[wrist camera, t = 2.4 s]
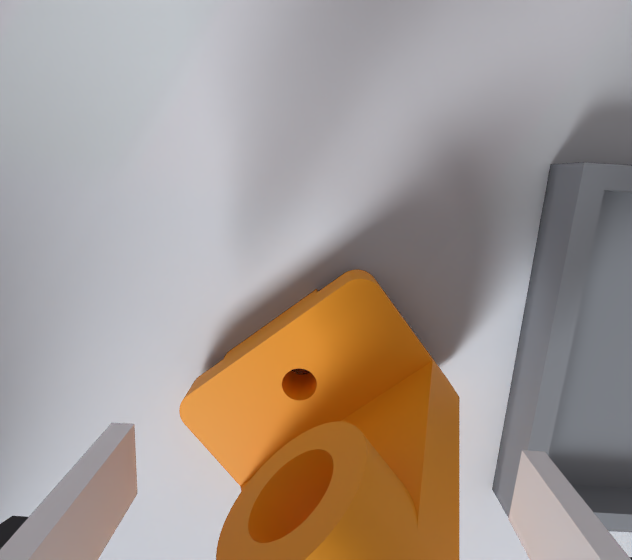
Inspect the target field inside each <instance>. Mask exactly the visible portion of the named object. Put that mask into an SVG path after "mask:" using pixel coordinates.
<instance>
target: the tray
mask: <svg viewBox="0 0 632 560" xmlns="http://www.w3.org/2000/svg"><path fill="white" fill-rule="evenodd" d="M522 450H527V451H542V452H545V453H546V454H547V455H548V456H549V458H550V459H551V460H552V461H553V463H554V464H555V465H556V466H557V468H558V469H559V470H560V471H561V473H562V474H563V475H564V476H565V478H566V479H567V480H568V481H569V483H570V484H571V485H572V486H573V488H574V489H575V490H576V491H577V493H578V494H579V495H580V496H581V498H582V499H583V500H584V501H585V503H586V504H587V505H588V506H589V508H590V509H591V510H592V511H593V513H594V514H595V515H596V516H597V518H598V519H599V520H600V521H601V523H602V524H603V525H604V526H605V528H606V529H607V530H608V531H618V532H632V165H619V164H603V163H587V162H582V163H567V164H552V165H551V166H550V171H549V177H548V182H547V188H546V193H545V199H544V204H543V210H542V216H541V221H540V227H539V232H538V238H537V243H536V249H535V255H534V260H533V266H532V271H531V277H530V282H529V288H528V293H527V299H526V305H525V310H524V316H523V321H522V327H521V332H520V338H519V343H518V349H517V355H516V360H515V366H514V371H513V377H512V382H511V388H510V393H509V399H508V405H507V410H506V416H505V421H504V427H503V432H502V438H501V444H500V449H499V455H498V460H497V466H496V471H495V477H494V482H493V488H492V490H493V491H494V493H495V495H496V497H497V498H498V500H499V502H500V504H501V506H502V507H503V509H504V511H505V513H506V514H507V516H508V518H509V514H510V509H511V504H512V499H513V493H514V488H515V483H516V478H517V473H518V468H519V463H520V458H521V453H522Z"/></svg>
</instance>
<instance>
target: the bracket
mask: <svg viewBox="0 0 632 560" xmlns="http://www.w3.org/2000/svg"><path fill="white" fill-rule="evenodd" d="M298 368H300V369H305V370H308V371H309V372H310V373H307V374H296V373H294V372H292V371H291V370H293V369H298ZM180 417H181V419H182V421H183V423H184V424H185V425H186V426H187V427H188V428H189V429H190V430H191V432H192V433H193V434H194V435H195V436H196V437H197V438H198V439H199V441H200V442H201V443H202V444H203V445H204V446H205V447H206V448H207V449H208V451H209V452H210V453H211V454H212V455H213V456H214V457H215V458H216V459H217V461H218V462H219V463H220V464H221V465H222V466H223V467H224V468H225V469H226V471H227V472H228V473H229V474H230V475H231V476H232V477H233V478H234V479H235V481H236V482H237V483H238V484H239V485H240V486H241V491H242V492H241V493H240V495H239V496H238V498H237V500H236V501H235V503H234V505H233V506H232V508H231V510H230V512H229V514H228V516H227V518H226V520H225V523H224V525H223V528H222V531H221V533H220V537H219V541H218V546H217V554H216V560H459V396H458V395H457V393H456V391H455V390H454V388H453V387H452V385H451V384H450V382H449V381H448V379H447V378H446V376H445V375H444V374H443V372H442V371H441V369H440V368H439V367H438V365H437V364H436V362H435V361H434V360H433V358H432V357H431V356H430V354H429V353H428V351H427V350H426V349H425V347H424V346H423V345H422V343H421V342H420V340H419V339H418V338H417V336H416V335H415V334H414V332H413V331H412V329H411V328H410V327H409V325H408V324H407V322H406V321H405V320H404V318H403V317H402V316H401V314H400V313H399V311H398V310H397V309H396V307H395V306H394V305H393V303H392V302H391V300H390V299H389V298H388V296H387V295H386V293H385V292H384V291H383V289H382V288H381V287H380V285H379V284H378V282H377V281H376V280H375V278H374V277H373V276H372V275H371V274H369V273H368V272H366V271H363V270H351V271H348V272H346V273H344V274H343V275H341V276H340V277H338V278H337V279H336V280H334V281H333V282H331V283H330V284H328V285H327V286H326V287H324V288H323V289H321V290H320V291H319V292H318V291H317V289H316V290H314V291H313V292H312V293H310V294H309V295H307V296H306V297H305V298H303V299H302V300H300V301H299V302H298V303H296V304H295V305H293V306H292V307H291V308H289V309H288V310H286V311H285V312H283V313H282V314H281V315H279V316H278V317H276V318H275V319H274V320H272V321H271V322H269V323H268V324H267V325H265V326H264V327H262V328H261V329H260V330H258V331H257V332H255V333H254V334H253V335H251V336H250V337H248V338H247V339H246V340H244V341H243V342H241V343H240V344H239V345H237V346H236V347H234V348H233V349H232V350H230V351H229V352H227V354H226V355H225V357H224V359H223V360H222V361H220V362H219V363H217V364H216V365H215V366H213V367H212V368H210V369H209V370H208V371H206V372H205V373H203V374H202V375H201V376H199V377H198V378H197V379H196V380H195V381H194V383H193V384H192V386H191V388H190V389H189V391H188V393H187V394H186V396H185V397H184V399H183V401H182V402H181V405H180Z"/></svg>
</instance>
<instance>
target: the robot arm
mask: <svg viewBox="0 0 632 560" xmlns="http://www.w3.org/2000/svg"><path fill="white" fill-rule="evenodd" d="M136 495H137V475H136V452H135V430H134V424H125V423H111V424H110V425H109V426H108V428H107V429H106V430H105V431H104V432H103V433H102V434H101V436H100V437H99V438H98V439H97V440H96V441H95V442H94V444H93V445H92V446H91V447H90V448H89V449H88V450H87V451H86V453H85V454H84V455H83V456H82V457H81V458H80V459H79V461H78V462H77V463H76V464H75V465H74V466H73V467H72V469H71V470H70V471H69V472H68V473H67V474H66V475H65V476H64V478H63V479H62V480H61V481H60V482H59V483H58V484H57V486H56V487H55V488H54V489H53V490H52V491H51V492H50V494H49V495H48V496H47V497H46V498H45V499H44V500H43V502H42V503H41V504H40V505H39V506H38V507H37V508H36V509H35V511H34V512H33V513H32V514H31V515H30V516H29V517H22V516H12V517H10V518H9V519H7V520H6V521H4V522H3V523H1V524H0V560H98V558H99V557H100V555H101V553H102V552H103V550H104V548H105V547H106V545H107V543H108V542H109V540H110V538H111V537H112V535H113V533H114V532H115V530H116V528H117V527H118V525H119V523H120V522H121V520H122V518H123V517H124V515H125V513H126V512H127V510H128V508H129V507H130V505H131V503H132V502H133V500H134V498H135V497H136ZM509 521H510V523H511V525H512V527H513V528H514V530H515V532H516V534H517V536H518V538H519V540H520V541H521V543H522V545H523V547H524V549H525V551H526V553H527V555H528V556H529V558H530V560H632V557H629V556H628V555H627V554H626V553H625V551H624V550H623V549H622V548H621V546H620V545H619V544H618V543H617V541H616V540H615V539H614V538H613V536H612V535H611V534H610V533H609V531H608V530H607V529H606V528H605V526H604V525H603V524H602V523H601V521H600V520H599V519H598V518H597V516H596V515H595V514H594V513H593V511H592V510H591V509H590V508H589V506H588V505H587V504H586V503H585V501H584V500H583V499H582V498H581V496H580V495H579V494H578V493H577V491H576V490H575V489H574V488H573V486H572V485H571V484H570V483H569V481H568V480H567V479H566V478H565V476H564V475H563V474H562V473H561V471H560V470H559V469H558V468H557V466H556V465H555V464H554V463H553V461H552V460H551V459H550V458H549V456H548V455H547V454H546V453H545V452H542V451H527V450H522V453H521V458H520V463H519V468H518V473H517V478H516V483H515V488H514V493H513V499H512V504H511V509H510V514H509Z"/></svg>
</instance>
